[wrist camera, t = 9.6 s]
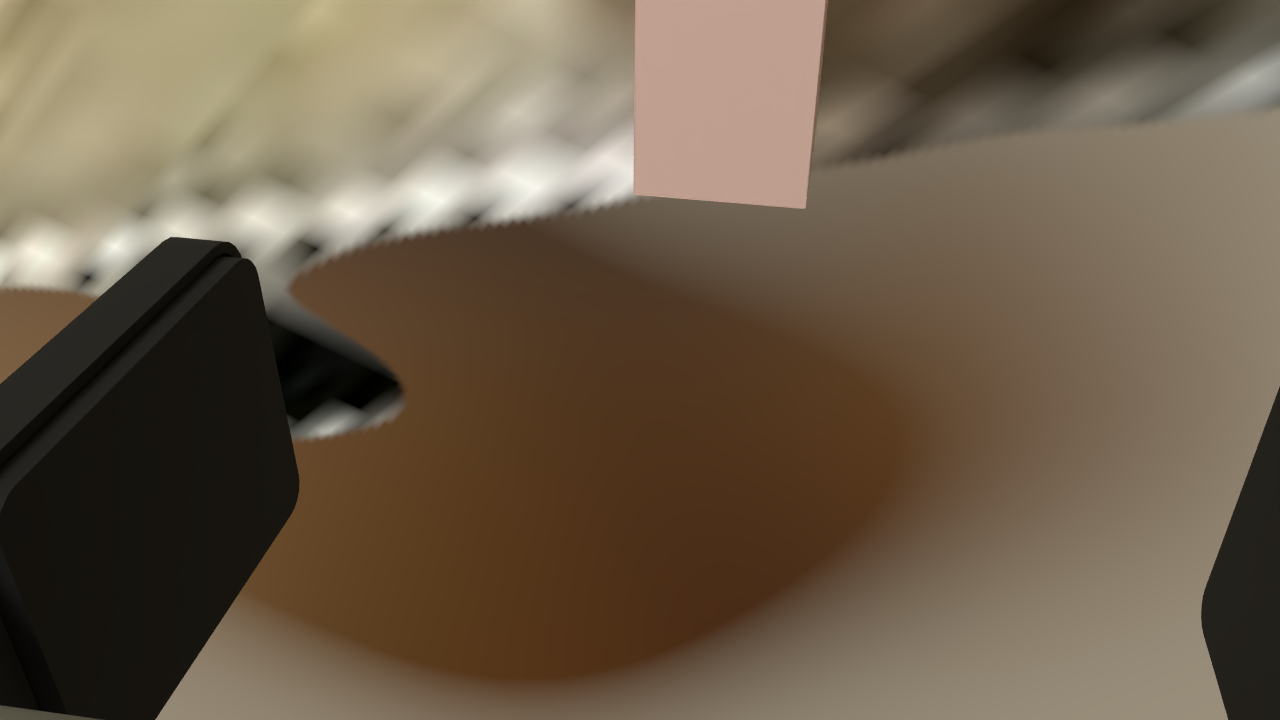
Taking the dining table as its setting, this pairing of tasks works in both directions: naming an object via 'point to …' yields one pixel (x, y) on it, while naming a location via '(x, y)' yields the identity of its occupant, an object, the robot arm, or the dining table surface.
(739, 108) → the tray
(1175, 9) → the dining table surface
